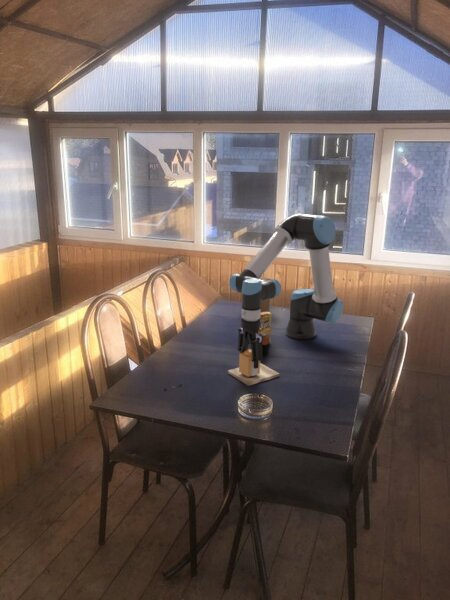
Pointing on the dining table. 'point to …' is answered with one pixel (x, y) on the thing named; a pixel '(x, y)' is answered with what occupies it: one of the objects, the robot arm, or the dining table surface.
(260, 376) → the birch board
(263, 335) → the battery
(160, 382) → the dining table surface
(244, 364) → the tan toy brick
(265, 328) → the candy box
